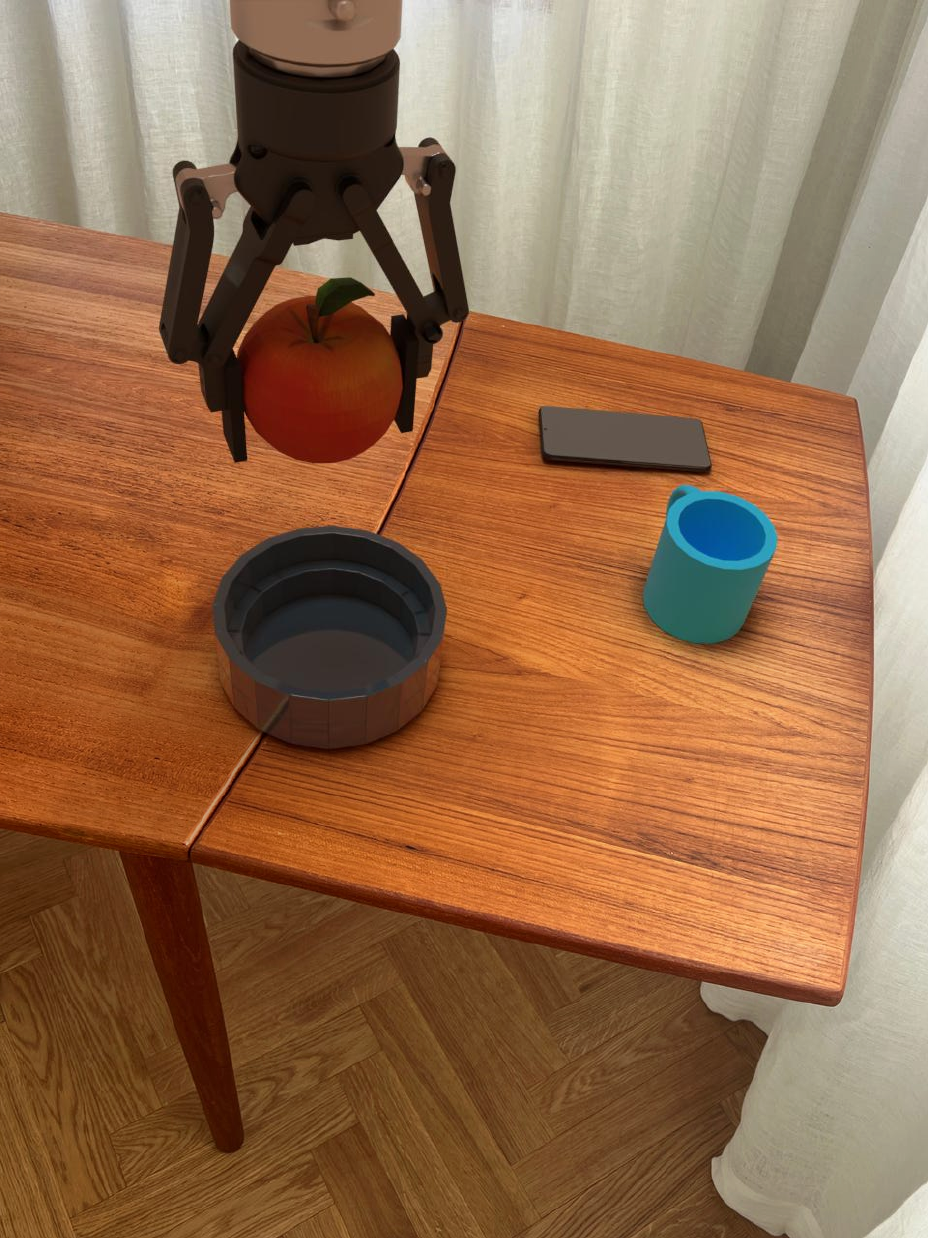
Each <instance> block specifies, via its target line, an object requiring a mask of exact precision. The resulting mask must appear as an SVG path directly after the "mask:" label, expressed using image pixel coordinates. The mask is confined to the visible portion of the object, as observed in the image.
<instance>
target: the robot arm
mask: <svg viewBox="0 0 928 1238" xmlns="http://www.w3.org/2000/svg"><path fill="white" fill-rule="evenodd" d="M229 13H230V15H229V16H230V29H231V31H232V32H233V34H234V35H235V37H236V38H237V39H238V40H237V41H236V42H235V44H234V45H233V48H232V65H233V67H232V68H233V81H234V96H235V113H236V114H235V115H236V129H237V137H236V138H237V139H236V144H235V147H234V150H233V152H232V154H231V156H230V158H229V162H228V163H224V164H218V165H213V166H207V167H202V168H198V167H197V166H196V165H195V163H194V162H193V161H190V160H181V161H178V162H176V163H175V165H174V166H173V168H172V179H173V183H174V188H175V193H176V199H177V203H178V213H177V220H176V224H175V231H174V236H173V242H172V246H171V247H172V248H171V254H170V260H169V266H168V272H167V278H166V284H165V290H164V295H163V302H162V307H161V312H160V313H161V314H160V319H159V326H158V332H159V335H160V338H161V340H162V343H163V346H164V348H165V352H166V355H167V358H168V359H169V361H170V362H171V363H173V364H174V365H183V364H185V363H187V362H193V363H197V364H198V374H199V385H200V392H201V394H202V397H203V400H204V402H205V405H206V407H207V409H208V410H209V412H210V413H217V412H221V420H222V434H223V436H224V439H225V441H226V444H227V446H228V449H229V452H230V454H231V457H232V460H233V463H235V464H237V463H243V462H247V461H248V447H247V435H246V434H247V433H246V420H245V419H246V418H245V413H244V404H243V389H242V375H241V367H240V365H239V362H238V360H237V354H236V353H235V351H234V347H235V346H236V343H237V341H238V339H239V337H240V335H241V333H242V332H243V330H244V328H245V326H246V324H247V322H248V320H249V318H250V316H251V314H252V312H253V310H254V308H255V306H256V304H257V303H258V300H259V299H260V297H261V295H262V293H263V291H264V289H265V287H266V285H267V283H268V281H269V279H270V277H271V275H272V273H273V271H274V270H275V268H276V267H277V266H280V265H281V264H283V263H284V261H285V259H286V257H287V255H288V253H289V251H290V249H291V247H292V245H293V246H294V247H296V246H304V245H311V244H313V243H316V242H319V241H322V240H331V241H348V240H354V235H355V234H356V233H359V232H360V234H361V236H362V237H363V239H364V241H365V243H366V245H367V246H368V248H369V250H370V251H371V253H372V255H373V257H374V258H375V261H376V262H377V264H378V265H379V268H380V269H381V271H382V272H383V274H384V276H385V278H386V279H387V281H388V283H389V284H390V286H391V288H392V290H393V292H394V293H395V295H396V296H397V298H398V300H399V302H400V303H401V306H402V307H403V308H404V311H405V312H406V316H405V314H404V313H402V314H396V315H395V314H394V315H391V317H390V333H389V334H390V336H391V337H392V339H393V341H394V344H395V346H396V348H397V351H398V353H399V359H400V365H401V372H402V384H403V389H402V393H401V398H400V402H399V406H398V409H397V412H396V415H395V418H394V421H393V422H394V423H395V424H396V427H397V428H398V430H399V432H400V434H405V433H412V432H414V420H415V405H416V393H417V382H418V381H417V380H418V379H423V378H428V377H429V375H430V373H431V372H432V367H433V354H434V345H436V344H438V343H439V342H440V341H441V340H442V339H443V336H444V331H443V329H442V327H441V326H442V325H443V324H446V323H448V322H452V323H455V324H458V323H462V322H463V321H465V320H466V319H467V318H468V316H469V315H470V308H469V301H468V297H467V291H466V286H465V279H464V273H463V269H462V262H461V257H460V253H459V252H460V251H459V246H458V239H457V235H456V228H455V223H454V217H453V211H452V206H451V201H452V195H453V190H454V184H455V178H456V172H457V167H456V164H455V163H454V161H453V160H452V158H451V157H450V156H449V155H448V153H447V152H446V151H445V150H444V148H443V146H442V145H441V144H440V142H439V141H438V140H437V139H436V138H434V137H431V136H429V137H425V138H423V139H422V140H421V141H420V142H419V143H418V145H417V146H399V145H398V143H397V139H396V134H397V128H398V116H399V115H398V113H399V112H398V111H399V94H400V91H399V90H400V73H401V59H400V56H399V54H398V52H397V51H396V50H395V48H396V46H397V45H398V43H399V42H400V40H401V38H402V19H403V18H402V17H403V0H229ZM402 176H404V180H405V182H406V184H407V186H408V187H409V188H410V189H411V191H412V192H413V197H414V201H415V205H416V210H417V215H418V221H419V226H420V230H421V236H422V241H423V246H424V250H425V255H426V260H427V265H428V270H429V274H430V275H429V276H430V279H431V285H432V289H433V291H432V292H430V293H428V294H426V295H423V293H422V291H421V289H420V287H419V286H418V284H417V282H416V280H415V278H414V277H413V275H412V273H411V271H410V269H409V268H408V265H407V264H406V262H405V260H404V259H403V256H402V255H401V253H400V251H399V250H398V248H397V246H396V244H395V242H394V239H393V237H392V236H391V234H390V232H389V230H388V229H387V227H386V224H385V223H384V221H383V219H382V218H381V216H380V214H379V213H378V209H379V208H380V206H381V205H382V204H383V202H384V201H385V200H386V198H387V197H388V196H389V194H390V192H391V191H392V190H393V188H395V185H396V184H397V183H398V182H399V180H400V178H401V177H402ZM235 193H238V194H240V196H241V197H242V198H243V200H245V201H246V203H247V204H248V205H249V208H248V210H247V212H246V214H245V216H244V219H243V221H242V232H241V234H240V237H239V239H238V241H237V243H236V245H235V247H234V249H233V251H232V253H231V255H230V257H229V259H228V261H227V263H226V265H225V267H224V269H223V272H222V274H221V275H220V277H219V279H218V282H217V284H216V286H215V288H214V290H213V292H212V294H211V296H210V298H209V301H208V302H207V304H206V305H205V309H204V311H203V313H202V314H201V310H202V303H203V299H204V294H205V289H206V283H207V277H208V273H209V268H210V263H211V257H212V253H213V249H214V248H213V247H214V240H215V222H214V220H218V219H221V218H222V217H223V214H224V212H225V210H226V205H227V200H228V198H229V197H230V196H231V195H232V194H235ZM200 314H201V316H200Z"/></svg>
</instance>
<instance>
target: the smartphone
mask: <svg viewBox="0 0 928 1238" xmlns="http://www.w3.org/2000/svg"><path fill="white" fill-rule="evenodd" d="M537 413H538V415H537V416H538V427H539V439H540V448H541V449H540V450H541V456H542V458H543V459H545V460H547V461H554V462H567V463H581V464H593V465H605V466H606V465H607V466H616V467H617V466H618V467H630V468H642V469H643V468H644V469H655V470H656V469H657V470H666V471H667V470H668V471H683V472H693V473H694V472H695V473H708V472H711V470H712V467H713V464H712V460H711V455H710V451H709V448H708V447H709V446H708V442H707V437H706V433H705V429H704V424H703V421H702V420H700V419H699V418H696V417H684V416H673V415H660V414H650V413H649V414H647V413H636V412H623V411H612V410H598V409H589V408H588V409H587V408H575V407H574V408H573V407H563V406H554V405H553V406H551V405H542V406H540V407H539V409H538V412H537Z"/></svg>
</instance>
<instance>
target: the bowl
mask: <svg viewBox="0 0 928 1238" xmlns="http://www.w3.org/2000/svg"><path fill="white" fill-rule="evenodd" d="M211 607H212V609H211V610H212V618H213V628H214V630H213V631H214V638H215V646H216V655H217V656H216V657H217V664H218V674H219V681H220V685H221V686H222V688H223V690H224V692H225V694H226V696H227V698H228V700H229V701H230V703H231V705H232V706H233V708H234V710H236V711H237V712H238V713H239V714H240V715H241V716H243V717H244V718H245V719H246V720H247V721H248V722H249V723H250V724H252V726H254V727H255V728H256V729H257V730H259V731H261V732H263V733H265V734H267V735H270V736H272V737H274V738H277V739H279V740H282V741H284V742H285V743H289V744H292V745H296V746H304V747H311V748H317V749H318V748H319V749H324V750H325V749H338V748H339V749H340V748H345V747H346V748H347V747H354V746H355V747H356V746H363V745H367V744H369V743H372V742H374V741H377V740H380V739H381V738H384V737H387V736H390V735H391V734H393V733H396V732H398V731H399V730H401V728H403V727H404V726H405V725H407V724H408V723H409V722H410V721H411V720H412V719H414V718H415V717H416V716H417V715H419V714H420V713H421V712H422V711H423V710H424V708H425V706H426V705H427V704H428V702H429V700H430V698H431V697H432V694H433V693H434V691H435V690H436V688H437V686H438V682H439V677H440V669H441V662H442V656H443V647H444V639H445V632H446V631H445V630H446V623H447V615H448V607H447V604H446V600H445V595H444V593H443V588H442V585H441V583H440V581H439V580H438V579H437V577H436V576H435V575H434V573H433V572H432V570H431V569H430V568H429V566H428V565H427V563H425V561H424V560H423V559H422V558H421V557H420V556H418V555H416V554H415V553H414V552H412V551H411V550H410V549H408V548H407V547H406V546H404V545H403V544H402V543H400V542H398V541H396V540H394V539H391V538H388V537H386V536H383V535H381V534H378V533H375V532H373V531H370V530H366V529H360V528H355V527H354V528H353V527H347V526H346V527H345V526H339V525H324V526H322V525H321V526H311V527H300V528H295V529H292V530H289V531H286V532H282V533H280V534H277V535H273V536H270V537H268V538H266V539H264V540H262V541H261V542H260V543H258V544H256V545H254V546H253V547H251V548H250V549H248V550H246V551H245V552H243V553H242V554H240V556H239V557H238V558H237V559H236V560H235V561H234V562H233V564H232V565H231V566H230V567H229V568H228V570H227V571H226V572H225V573H224V575H222V577H221V579H220V581H219V584H218V587H217V590H216V593H215V596H214V598H213V602H212V606H211Z"/></svg>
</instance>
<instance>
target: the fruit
mask: <svg viewBox="0 0 928 1238" xmlns="http://www.w3.org/2000/svg"><path fill="white" fill-rule="evenodd" d="M375 296H376V293H375V292H374V291H373V290H372V289H370V288H369V287H368V286H367V285H365V284H364V283H362V282H361V281H359V280H357V279H355V278H353V277H351V276H350V277H349V276H348V277H333V278H329V279H328V280H327V281H326V282H324V283H322V285H321V286H319V287H318V288H317V291H316V295H306V296H300V297H293V298H290V299H287V300H285V301H282V302H280V303H277V304H275V305H274V306H272V307H271V308H269V309H268V310H267V311H265V312H264V313H263V314H262V315H261V316H260V317H259V318H258V319H257V320H255V321H254V323H253V324H252V325H251V327H250V328H249V329H248V331H247V332H246V333H245V334H244V337H243V339H242V341H241V343H240V345H239V347H238V349H237V352H236V357H237V360H238V362H239V365H240V367H241V375H242V389H243V404H244V416H245V417H246V418H247V420H248V421H249V423H250V425H251V426H252V428H253V430H254V431H255V432H256V434H257V435H258V436H259V437H261V439H263V440H264V441H265V442H266V443H268V444H269V446H271V447H273V448H274V449H275V450H277V452H279V453H281V454H283V455H285V456H287V457H289V458H291V459H293V460H295V461H300V462H304V463H310V464H336V463H339V462H344V461H350V460H352V459H353V458H355V457H357V456H360V455H361V454H363V453H364V452H366V451H368V450H369V449H370V448H372V447H374V446H375V444H377V443H378V441H380V440H381V439H382V438H383V436H385V435H386V433H387V431H388V430H389V429H390V427H391V426H392V424H393V422H395V421H394V418H395V415H396V412H397V409H398V406H399V402H400V398H401V393H402V389H403V384H402V372H401V365H400V359H399V353H398V351H397V348H396V346H395V344H394V341H393V339H392V337H391V336H390V333H389V331H388V329H387V328H386V326H385V325H384V324H383V323H382V322H381V321H379V320H378V319H377V318H376V317H375V316H373V315H372V314H371V313H369V312H368V311H367V310H366V309H364V308H363V307H362V306H360V305H358V304H355V303H354V302H356V301H358V300H361V299H364V298H367V297H375Z"/></svg>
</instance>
